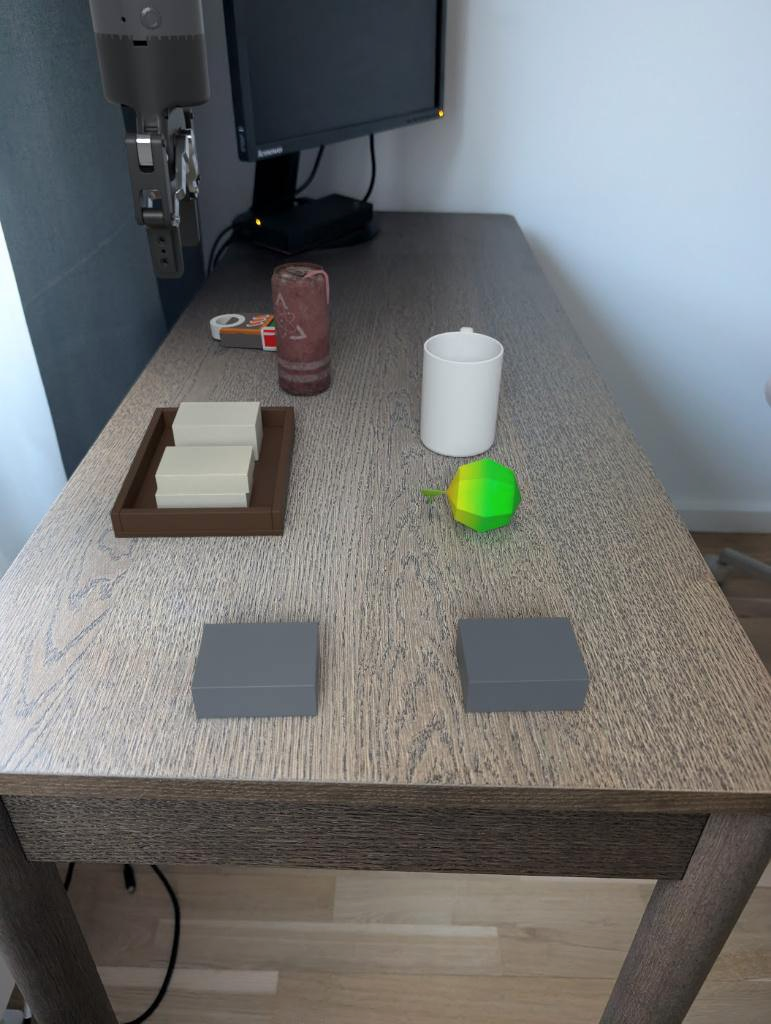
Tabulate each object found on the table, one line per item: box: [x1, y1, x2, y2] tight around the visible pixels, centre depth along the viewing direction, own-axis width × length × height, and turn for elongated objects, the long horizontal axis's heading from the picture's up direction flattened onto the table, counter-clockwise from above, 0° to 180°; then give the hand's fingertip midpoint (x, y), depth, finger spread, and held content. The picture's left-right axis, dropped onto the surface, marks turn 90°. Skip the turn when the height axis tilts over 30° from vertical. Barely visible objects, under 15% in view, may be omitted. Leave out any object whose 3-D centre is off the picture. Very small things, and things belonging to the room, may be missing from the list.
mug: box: [419, 326, 505, 458], centre depth 81 cm, size 12×8×10 cm, turn 172°
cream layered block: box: [155, 446, 255, 508], centre depth 71 cm, size 8×5×4 cm, turn 92°
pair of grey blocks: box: [190, 616, 591, 719], centre depth 54 cm, size 26×6×3 cm, turn 92°
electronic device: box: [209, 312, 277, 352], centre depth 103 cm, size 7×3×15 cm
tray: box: [109, 405, 296, 539], centre depth 75 cm, size 15×20×3 cm
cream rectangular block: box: [172, 401, 263, 460], centre depth 78 cm, size 8×5×4 cm, turn 92°
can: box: [270, 262, 331, 397], centre depth 88 cm, size 6×6×14 cm
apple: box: [420, 457, 523, 534], centre depth 69 cm, size 7×6×9 cm
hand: (179, 260), depth 63 cm, fingers open, 8 cm apart
